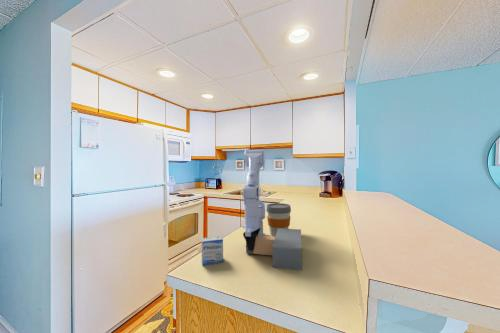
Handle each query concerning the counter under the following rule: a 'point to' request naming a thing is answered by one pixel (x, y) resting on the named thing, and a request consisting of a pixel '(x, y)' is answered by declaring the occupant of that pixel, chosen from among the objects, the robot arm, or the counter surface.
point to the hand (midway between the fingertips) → (252, 247)
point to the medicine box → (212, 250)
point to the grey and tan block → (262, 245)
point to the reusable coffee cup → (278, 217)
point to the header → (287, 249)
